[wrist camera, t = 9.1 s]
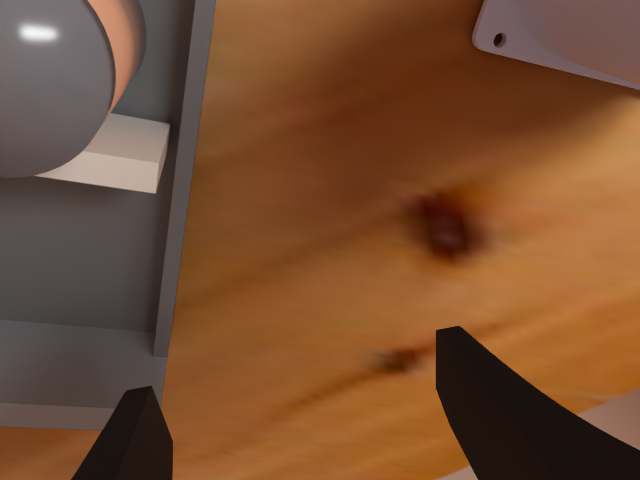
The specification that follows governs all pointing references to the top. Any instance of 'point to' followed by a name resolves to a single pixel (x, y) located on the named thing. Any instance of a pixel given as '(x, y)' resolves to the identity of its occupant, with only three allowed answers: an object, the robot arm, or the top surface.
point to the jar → (62, 76)
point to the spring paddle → (120, 155)
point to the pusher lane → (102, 252)
